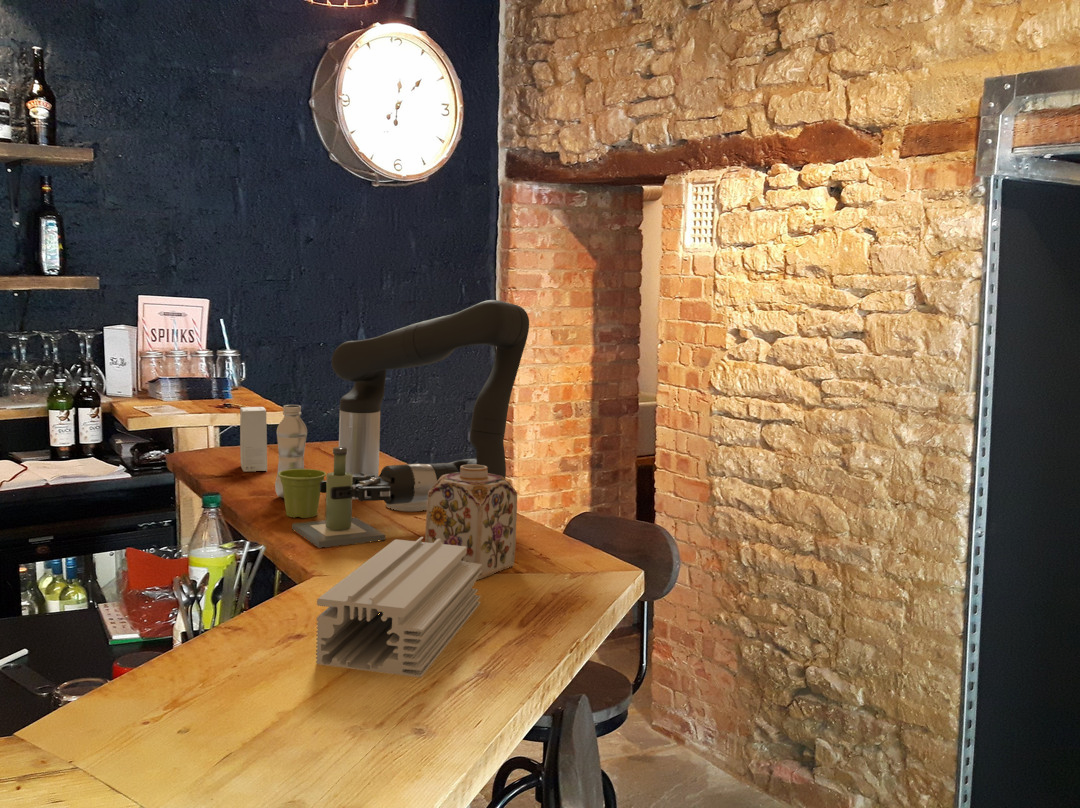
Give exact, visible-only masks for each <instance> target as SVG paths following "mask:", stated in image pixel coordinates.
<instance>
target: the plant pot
mask: <svg viewBox="0 0 1080 808" xmlns="http://www.w3.org/2000/svg"><path fill="white" fill-rule="evenodd" d="M278 476H279V477H280V479H281V483H282V486H283V493H284V498H283V500H284V507H285V515H286V517H290V518H292V517H293V519H294V518H295V519H296V518H297V517H298V518H301V519H308V518H313V517H316V516H317V515H318V511H319V505H320V496H321V492H320V490H319V488H320V482H321V481H325V477H327V472H326V471H324V470H320V469H315V468H314V469H313V468H312V469H311V468H304V469H291V470H284V471H281V472H279V473H278Z"/></svg>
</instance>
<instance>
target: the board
mask: <svg viewBox="0 0 1080 808" xmlns="http://www.w3.org/2000/svg"><path fill="white" fill-rule="evenodd" d="M291 523H292V522H291ZM292 529H293V530H292ZM291 530H292V531H294V530H295V531H296V532H297V533H296V532H295V531H294V532H295V533H296V534H298V533H299V534H300V535H299V534H298V535H299V536H301V535H302V536H303V537H302V536H301V537H302V538H304V537H305V538H306V539H307V540H306V539H305V538H304V539H305V540H306V541H308V540H309V541H310V543H311V544H312V543H313V544H312V545H314V546H315V547H316V546H317V548H318V549H323V548H322V547H325V548H331V546H334V547H340V546H339V545H343V546H349V545H348V544H352V545H356V544H355V543H361V544H364V543H363V542H370V541H378V540H385V541H386V534H385V533H383V532H382V531H380V530H378V529H377V528H375V527H373V526H372V525H369V524H368V523H366V522H364V521H363V520H361V519H359V518H358V517H356V516H354V517H352V523H351V528H348V529H342V530H335V529H329V528H326V519H323V520H314V521H303V522H294V523H292V524H291ZM309 541H308V542H309ZM370 543H371V542H370Z"/></svg>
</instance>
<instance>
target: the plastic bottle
mask: <svg viewBox="0 0 1080 808" xmlns="http://www.w3.org/2000/svg"><path fill="white" fill-rule="evenodd" d="M282 407H283V412H282V414H283V418H282V420H281V421H280V422H279V423H278V425H277V428H276V440H277V447H278V449H277V450H278V451H277V452H278V453H277V454H278V463H277V464H278V465H277V474H276V475H277V476H276V478H275V483H274V487H275V488H274V489H275V493H276V495H277V497H279V498H283V499H284V493H283V486H282V483H281V479H280V477H279V476H278V473H279V472H281V471H284V470H291V469H305V450H306V449H305V448H306V442H307V436H308V429H307V425H306V424H305V422H304V421H303V419H302V418H301V415H302V408H301V405H299V404H284V405H283V406H282Z"/></svg>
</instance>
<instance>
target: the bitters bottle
mask: <svg viewBox="0 0 1080 808" xmlns="http://www.w3.org/2000/svg"><path fill="white" fill-rule="evenodd" d="M332 454H333V472H331V471H330V472H328V473H327V472H326V480H325V481H326V493H325V520H326V528H329V529H335V530H342V529H348V528H351V523H352V518H353V517H352V514H353V513H352V512H353V499H351V498H346V499H332V498H331V497H330V490H331V488H332V487H340V486H352V478H353V474H351V473H348V472H346V454H347V448H345V447H339V446H337V447H336V446H335V447H333V448H332Z"/></svg>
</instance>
